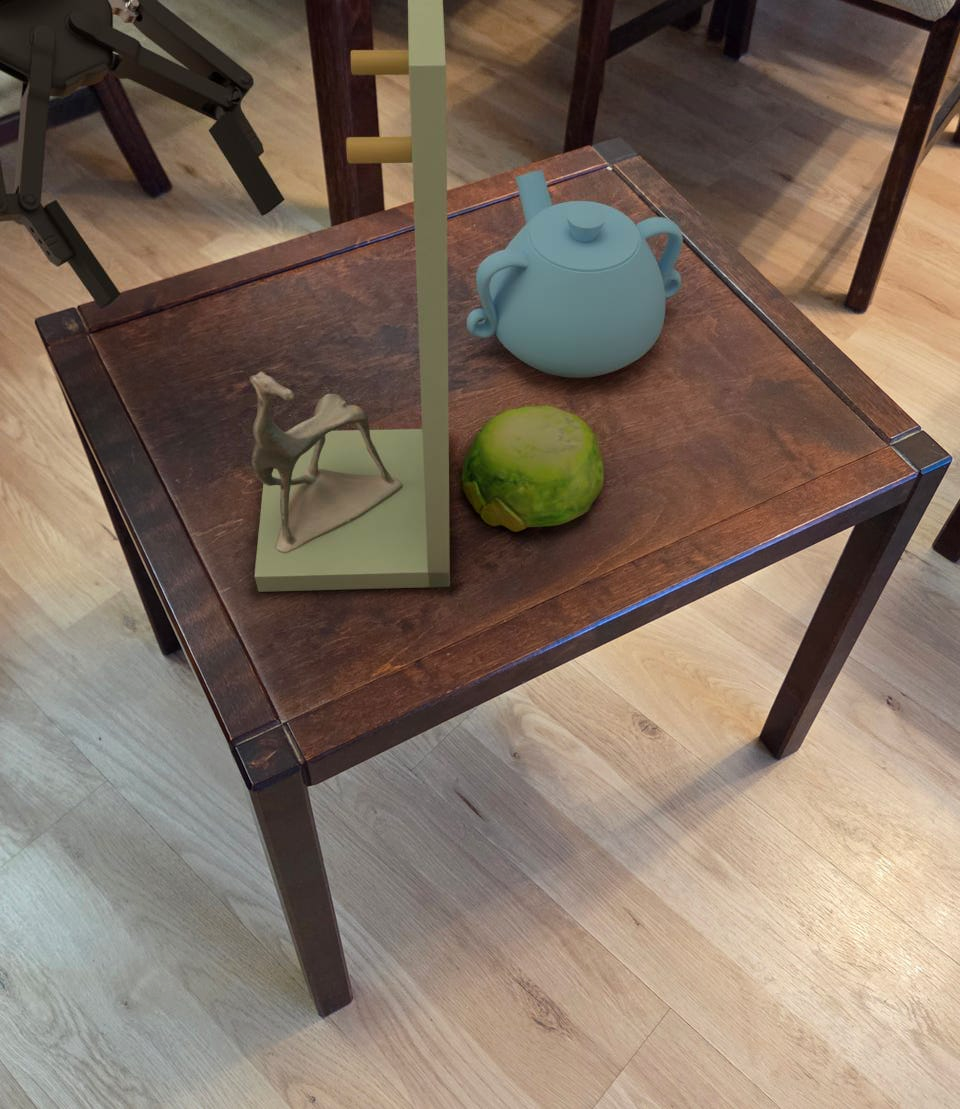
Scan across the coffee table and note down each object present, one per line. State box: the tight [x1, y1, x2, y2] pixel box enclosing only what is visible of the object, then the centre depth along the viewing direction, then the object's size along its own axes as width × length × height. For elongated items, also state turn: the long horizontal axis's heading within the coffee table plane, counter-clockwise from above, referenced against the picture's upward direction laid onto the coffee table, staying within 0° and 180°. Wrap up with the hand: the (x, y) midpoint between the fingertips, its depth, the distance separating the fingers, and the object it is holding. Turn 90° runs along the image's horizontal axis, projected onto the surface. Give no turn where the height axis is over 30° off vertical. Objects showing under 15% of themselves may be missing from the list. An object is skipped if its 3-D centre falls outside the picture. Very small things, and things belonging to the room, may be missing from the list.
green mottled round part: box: [461, 404, 605, 533], centre depth 82 cm, size 12×11×5 cm
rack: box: [254, 0, 451, 593], centre depth 65 cm, size 14×14×40 cm
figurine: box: [249, 370, 403, 553], centre depth 74 cm, size 11×6×15 cm, turn 123°
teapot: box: [466, 169, 684, 379], centre depth 90 cm, size 20×20×13 cm
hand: (196, 253), depth 70 cm, fingers open, 13 cm apart
